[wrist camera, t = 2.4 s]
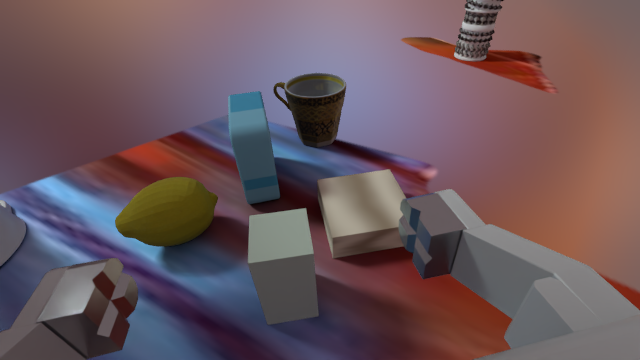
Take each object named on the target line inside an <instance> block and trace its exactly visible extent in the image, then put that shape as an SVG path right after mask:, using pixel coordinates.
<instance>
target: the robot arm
mask: <svg viewBox="0 0 640 360" xmlns="http://www.w3.org/2000/svg"><path fill="white" fill-rule="evenodd" d="M400 210H401V212H402V213H403V216H402V217H401V218H400V219H399V227H398V228H399V234H400V238H401V241H402V243H403V245H404V247H405V249H406V250H408V251H409V252H411V253H413V263H414V265H415V266H416V268H417V270H418V272H419V273H420V275H421V277H422V279H427V278H432V277H437V276H441V275H446V274H451V276H452V277H454V278H455V279H457V280H458V281H459V282H461V283H462V284H464V285H465V286H467V287H468V288H469V289H471V290H472V291H474V292H475V293H477V294H478V295H479V296H481V297H482V298H484V299H485V300H486V301H488V302H489V303H491V304H492V305H494V306H495V307H496V308H498V309H499V310H501V311H502V312H504V313H505V314H506V315H508V316H509V317H511V318H512V319H513V320H512V322H511V324H510V325H509V327H508V329H507V331H506V333H505V337H504V338H505V340H506V341H507V343H508V344H509V346H510V347H511V348H512V349H510V350H506V351H503V352H499V353H495V354H492V355H488V356H484V357H480V358H477V359H473V360H640V311H639V310H638V309H637V308H636V307H635V306H634V305H633V304H632V303H630V302H629V301H628V300H627V299H626V298H625V297H624V296H623V295H621V294H620V293H619V292H618V291H617V290H616V289H615V288H613V287H612V286H611V285H610V284H609V283H608V282H607V281H606V280H604V279H603V278H602V277H601V276H600V275H599V274H598V273H596V272H595V271H594V270H593V269H592V268H591V267H590V266H588V265H585V264H583V263H581V262H578V261H576V260H574V259H571V258H569V257H567V256H564V255H562V254H560V253H557V252H555V251H553V250H550V249H548V248H546V247H543V246H541V245H539V244H536V243H534V242H532V241H529V240H527V239H525V238H522V237H520V236H518V235H515V234H513V233H511V232H508V231H506V230H504V229H501V228H499V227H497V226H494V225H492V224H489V225H486V224H485V223H484V222H483V221H482V220H481V219H480V218H479V217H478V216H477V215H476V214H475V213H474V212H473V211H472V210H471V208H470V207H469V206H468V205H467V204H466V203H465V202H464V201H463V200H462V199H461V198H460V197H459V196H458V194H457V193H456V192H455V191H454V190H451V189H448V190H443V191H439V192H434V193H430V194H425V195H420V196H416V197H411V198H406V199H403V200H402V201H401V205H400ZM25 233H26V225H25V223H24V221H23V220H22V219H20V218H19V217H17V216H15V215H14V214H12V211H11V206H10V205H9V204H7V203H6V202H5V201H3V200H0V266H1V265H2V264H3V263H4V262H5V261H7V260H8V259H9V258H10V257H11V255H12V254H13V253H14V252H15V251H16V250H17V248H18V247H19V246H20V244H21V242H22V241H23V239H24V236H25ZM123 267H124V266H123V265H122V263H121V262H120V261H119V260H118V259H117V258H110V259H104V260H98V261H93V262H87V263H82V264H76V265H72V266H67V267H62V268H56V269H52V270H50V271H49V272H47V273H46V274H45V275H44V277H43V278H42V280H41V282H40V283H39V285H38V286H37V288H36V289H35V291H34V292H33V294H32V295H31V297H30V298H29V300H28V302H27V303H26V305H25V306H24V308H23V309H22V311H21V312H20V314H19V315H18V317H17V318H16V320H15V321H14V323H13V325H12V326H11V328H10V329H9V330H4V331H2V332H0V360H86V359H89V358H92V357H96V356H100V355H104V354H108V353H112V352H115V351H119V350H122V348H123V345H124V342H125V339H126V336H127V332H128V329H129V326H130V324H129V322H128V321H127V319H126V318H127V317H128V316H129V315H130V314H131V313H132V312H133V311H134V310H135V307H136V304H137V300H138V288H137V285H136V282H135V281H134V279H133V278H132V276H130V275H127V274H125V273H122V269H123Z"/></svg>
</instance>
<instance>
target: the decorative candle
mask: <svg viewBox="0 0 640 360" xmlns="http://www.w3.org/2000/svg"><path fill="white" fill-rule="evenodd" d="M501 1H503V0H467V3H466V4H465V10H466V14H465V19H464V21H463V24H462V28H460V32H461V34H459V35H458V38H459V40H458V41H457V42H456V46H457V47H456V48H455V53H454V57H456V58H457V59H460V60H465V61H481V60H484V59H486V54H487V53H488V48H489V47H490V43H489V41H490V40H492V36H491V35H492V34H493V33H494V30H493V29H494V26H495V21H496V17H497V13H498V12H499V11H500V10H501V8H502V6H500V2H501Z"/></svg>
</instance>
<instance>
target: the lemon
mask: <svg viewBox="0 0 640 360" xmlns="http://www.w3.org/2000/svg"><path fill="white" fill-rule="evenodd" d="M217 200H218V197H217V195H215V194H214V193H211V192H209V191H207V189H206V188H205V187H204V186H203V184H202V183H200V182H198V181H197V180H194V179H191V178H186V177H173V178H167V179H163V180H160V181H157V182H155V183H153V184H151V185H149V186H147V187H146V188H144V189H143V190H141V191H140V192H139V193H138V194H137V195H136V196H135V197H134V198H133V199H132V200H131V201H130V203H129V204H128V205H127V206H126V207H125V208H124V209H123V210H122V212H121V213H120V214H119V215H118V216H117V218H116V220H115V224H116V228H117V229H118V231H119V232H120V233H121V234H122V235H123V236H124V237H128V238H135V239H137V240H139V241H141V242H143V243H145V244H148V245H152V246H164V247H166V246H173V245H179V244H183V243H186V242H188V241H190V240H192V239H194V238H196V237H197V236H199V235H200V234H201V233H203V232H204V231H205V230H206V229H207V228H208V227H209V225H210V224H211V222H212V220H213V215H214V208H215V205H216V203H217Z"/></svg>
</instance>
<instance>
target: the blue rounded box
mask: <svg viewBox="0 0 640 360" xmlns="http://www.w3.org/2000/svg"><path fill="white" fill-rule="evenodd" d="M228 99H229V100H228V104H229V134H230V139H231V144H232V147H233V151H234V155H235V159H236V162H237V166H238V170H239V174H240V177H241V181H242V185H243V189H244V192H245V196H246V200H247V203H248V204H253V203H259V202H264V201H269V200H274V199H279V198H280V192H279V186H278V180H277V174H276V168H275V162H274V156H273V150H272V144H271V138H270V132H269V127H268V122H267V118H266V113H265V109H264V105H263V100H262V96H261V92H259V91H258V92H250V93H243V94H235V95H229V98H228Z"/></svg>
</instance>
